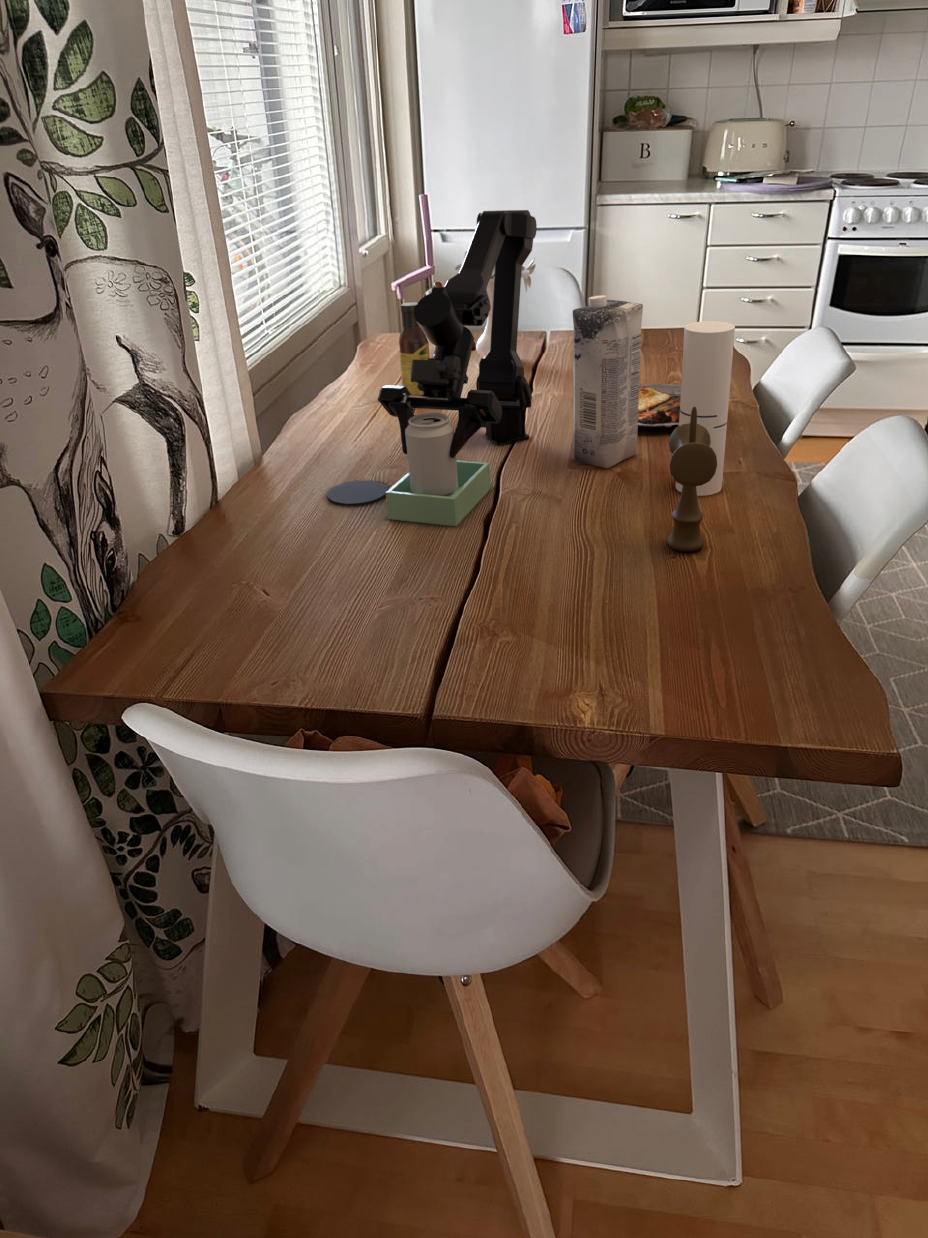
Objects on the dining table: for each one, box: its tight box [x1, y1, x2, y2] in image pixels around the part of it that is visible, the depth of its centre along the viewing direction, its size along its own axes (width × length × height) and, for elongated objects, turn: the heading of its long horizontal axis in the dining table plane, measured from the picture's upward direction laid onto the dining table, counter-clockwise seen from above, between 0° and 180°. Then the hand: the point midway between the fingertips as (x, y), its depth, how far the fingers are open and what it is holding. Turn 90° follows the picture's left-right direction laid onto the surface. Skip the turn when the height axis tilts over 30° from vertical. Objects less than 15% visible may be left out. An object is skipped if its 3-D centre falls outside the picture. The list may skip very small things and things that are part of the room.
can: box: [405, 412, 458, 497], centre depth 142 cm, size 8×8×12 cm
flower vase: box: [454, 249, 537, 359], centre depth 216 cm, size 13×18×25 cm
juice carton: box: [572, 294, 644, 469], centre depth 154 cm, size 9×10×27 cm
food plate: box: [638, 383, 681, 430], centre depth 179 cm, size 25×23×4 cm
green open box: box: [385, 459, 492, 527], centre depth 147 cm, size 15×11×4 cm
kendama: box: [667, 406, 717, 552], centre depth 124 cm, size 6×10×20 cm, turn 171°
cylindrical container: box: [675, 320, 736, 497], centre depth 141 cm, size 7×7×25 cm
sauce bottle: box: [398, 301, 431, 396], centre depth 193 cm, size 6×6×20 cm
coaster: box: [326, 480, 389, 507], centre depth 154 cm, size 10×10×1 cm
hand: (427, 454), depth 141 cm, fingers closed on can, 7 cm apart
